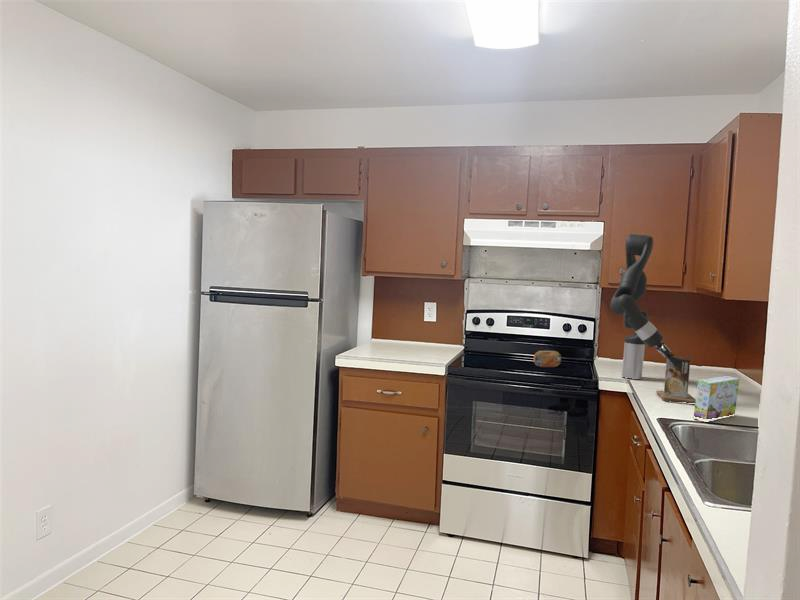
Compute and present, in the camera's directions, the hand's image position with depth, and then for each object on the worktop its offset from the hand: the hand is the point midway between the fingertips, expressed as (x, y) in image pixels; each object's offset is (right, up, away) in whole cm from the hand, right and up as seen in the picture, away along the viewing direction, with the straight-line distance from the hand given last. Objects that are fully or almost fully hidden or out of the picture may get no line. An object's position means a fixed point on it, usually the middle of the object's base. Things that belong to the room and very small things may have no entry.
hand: (675, 363), depth 250 cm
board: (+1, -15, +1) cm, 15 cm away
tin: (-39, -8, +59) cm, 72 cm away
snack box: (+3, -18, -26) cm, 32 cm away
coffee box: (0, -14, +1) cm, 14 cm away
